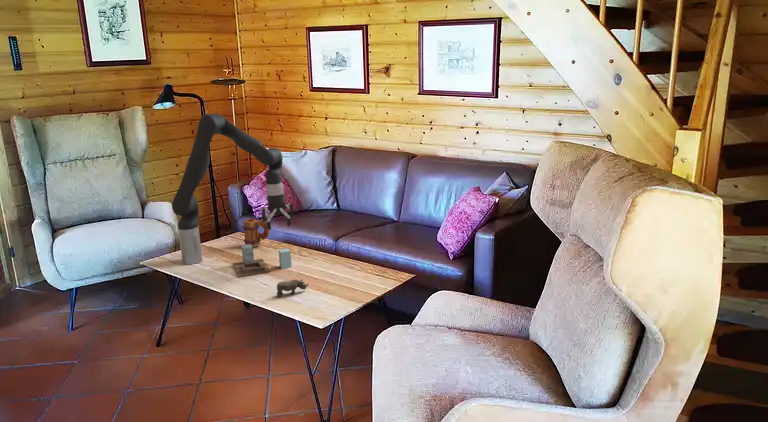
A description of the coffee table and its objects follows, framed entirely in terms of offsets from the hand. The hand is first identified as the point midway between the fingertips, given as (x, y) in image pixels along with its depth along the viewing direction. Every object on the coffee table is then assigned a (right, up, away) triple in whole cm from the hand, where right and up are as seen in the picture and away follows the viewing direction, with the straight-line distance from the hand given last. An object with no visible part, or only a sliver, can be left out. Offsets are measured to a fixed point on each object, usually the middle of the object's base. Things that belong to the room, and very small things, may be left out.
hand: (279, 227), depth 259 cm
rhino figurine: (+10, -27, -24) cm, 37 cm away
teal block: (+2, -18, +7) cm, 20 cm away
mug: (-18, -11, +38) cm, 44 cm away
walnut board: (-14, -19, +6) cm, 24 cm away
